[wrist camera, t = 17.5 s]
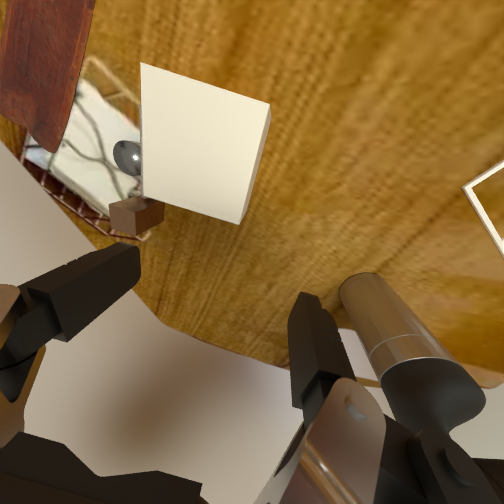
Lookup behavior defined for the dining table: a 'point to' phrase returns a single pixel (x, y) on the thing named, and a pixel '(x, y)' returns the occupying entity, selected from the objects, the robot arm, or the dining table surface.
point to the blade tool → (136, 208)
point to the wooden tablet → (42, 64)
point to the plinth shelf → (200, 144)
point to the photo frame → (501, 243)
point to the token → (128, 157)
